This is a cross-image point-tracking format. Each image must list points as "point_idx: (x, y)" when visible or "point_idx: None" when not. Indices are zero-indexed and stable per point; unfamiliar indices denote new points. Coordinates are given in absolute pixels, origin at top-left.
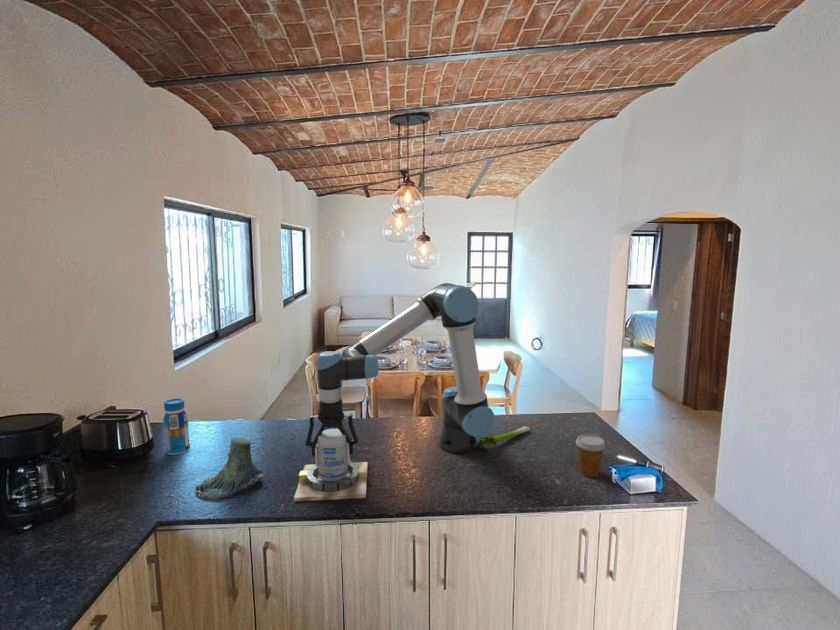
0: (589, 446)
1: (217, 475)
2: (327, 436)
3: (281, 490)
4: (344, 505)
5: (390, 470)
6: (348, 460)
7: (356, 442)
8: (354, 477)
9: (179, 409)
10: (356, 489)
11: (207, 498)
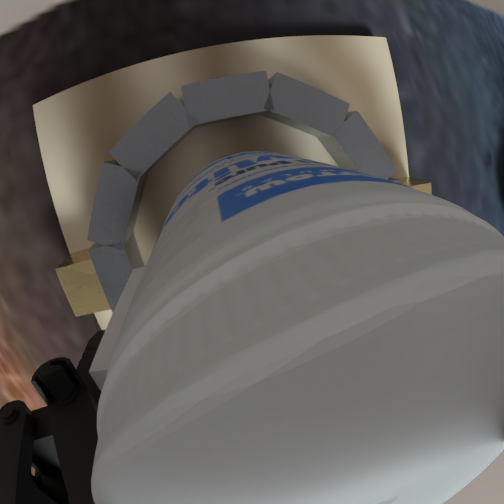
0: None
1: None
2: (479, 410)
3: (446, 136)
4: (125, 20)
5: (37, 357)
6: (131, 284)
7: (5, 411)
8: (95, 197)
9: None
10: (83, 137)
11: None
